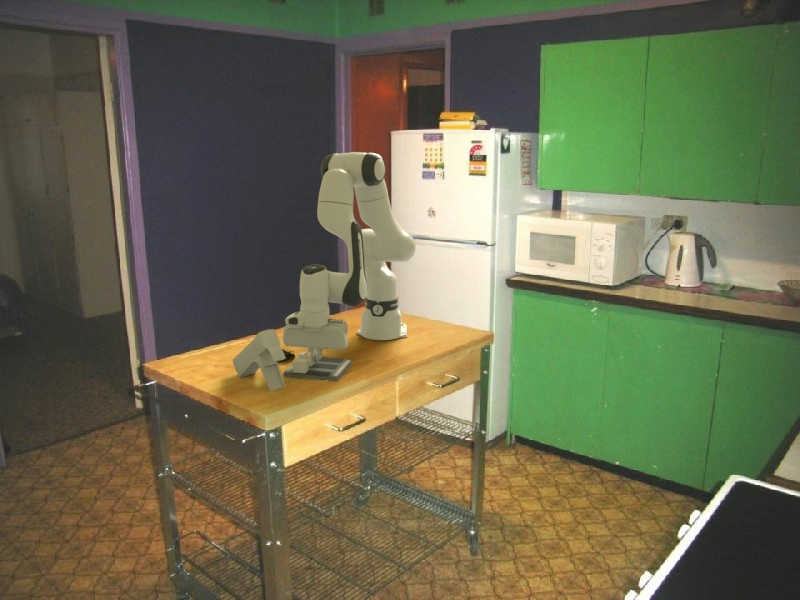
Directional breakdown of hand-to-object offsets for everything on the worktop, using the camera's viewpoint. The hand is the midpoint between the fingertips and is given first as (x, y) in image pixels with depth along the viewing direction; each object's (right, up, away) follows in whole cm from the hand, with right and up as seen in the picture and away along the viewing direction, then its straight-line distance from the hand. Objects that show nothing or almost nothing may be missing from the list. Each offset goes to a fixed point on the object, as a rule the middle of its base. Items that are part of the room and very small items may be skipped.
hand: (316, 360), depth 207 cm
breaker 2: (-4, -3, -5) cm, 7 cm away
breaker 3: (-1, 0, +7) cm, 7 cm away
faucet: (-15, -5, -9) cm, 19 cm away
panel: (+1, -3, +1) cm, 3 cm away
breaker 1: (-3, -1, +1) cm, 3 cm away
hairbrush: (-16, +1, +18) cm, 24 cm away
